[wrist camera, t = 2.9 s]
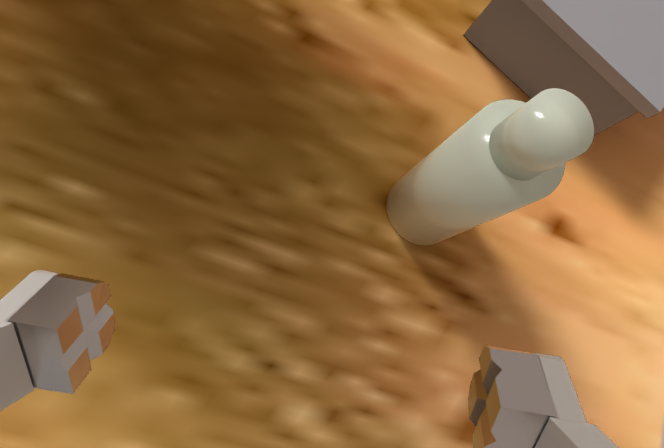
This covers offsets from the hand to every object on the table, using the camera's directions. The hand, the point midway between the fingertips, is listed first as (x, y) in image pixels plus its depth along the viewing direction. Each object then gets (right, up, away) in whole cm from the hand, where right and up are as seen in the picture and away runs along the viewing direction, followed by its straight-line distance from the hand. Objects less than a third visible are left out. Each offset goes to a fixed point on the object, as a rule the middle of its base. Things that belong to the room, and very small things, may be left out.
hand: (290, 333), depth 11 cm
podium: (+19, +17, +29) cm, 38 cm away
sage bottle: (+7, +3, +23) cm, 24 cm away
